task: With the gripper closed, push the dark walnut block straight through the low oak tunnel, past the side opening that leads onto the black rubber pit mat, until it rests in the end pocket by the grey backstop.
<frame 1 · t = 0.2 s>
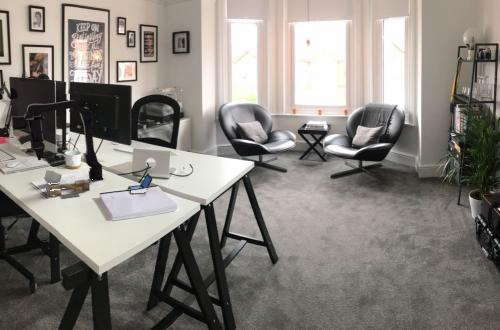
hand: (39, 158, 224), 14 cm above the table, tool pointing down, fingers open, 9 cm apart
handheld game console: (140, 190, 221), on the table
pit mat: (70, 195, 210), on the table
tunnel: (67, 191, 218), on the table
die: (53, 184, 231), on the table
walnut block: (82, 189, 221), on the table
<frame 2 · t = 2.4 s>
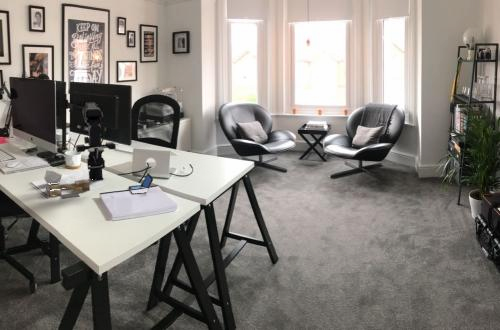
hand: (97, 163, 222), 13 cm above the table, tool pointing down, fingers closed
nothing on the table moved.
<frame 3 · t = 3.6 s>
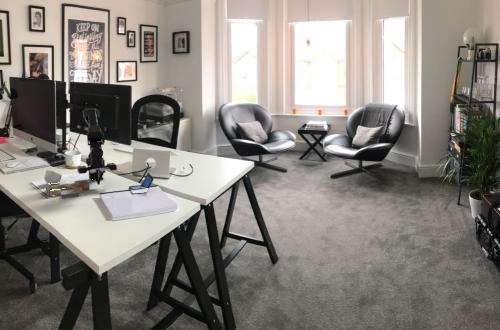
hand: (98, 184, 224), 2 cm above the table, tool pointing down, fingers closed
nothing on the table moved.
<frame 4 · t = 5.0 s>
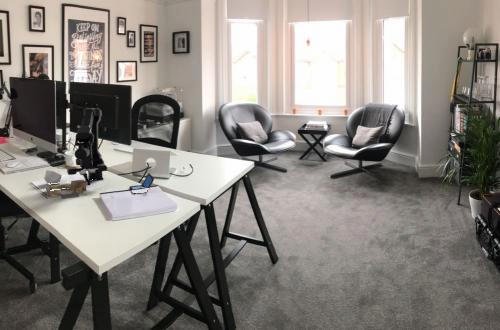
hand: (88, 185, 222), 2 cm above the table, tool pointing down, fingers closed
walnut block: (79, 190, 220), on the table, touching gripper
everything else where it was.
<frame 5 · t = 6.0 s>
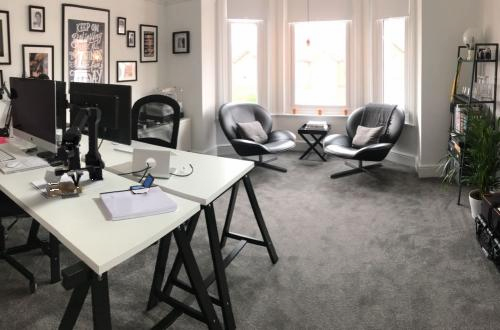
hand: (76, 186, 219), 2 cm above the table, tool pointing down, fingers closed
walnut block: (66, 191, 217), on the table, touching gripper
everything else where it was.
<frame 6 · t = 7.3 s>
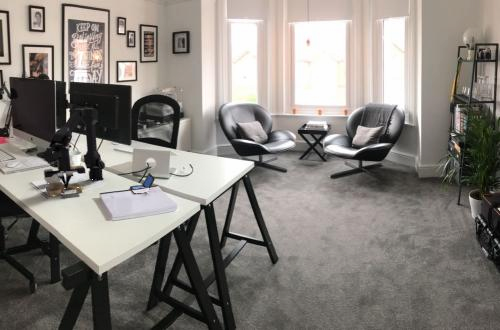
hand: (66, 188, 217), 2 cm above the table, tool pointing down, fingers closed
walnut block: (56, 192, 215), on the table, touching gripper, tunnel
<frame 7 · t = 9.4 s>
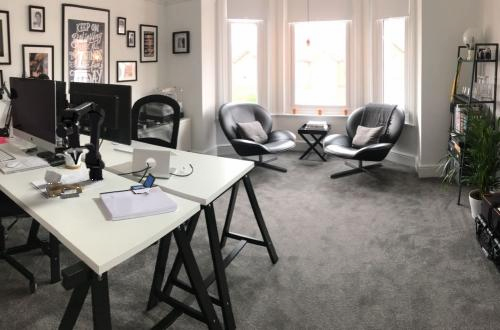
hand: (75, 164, 219), 13 cm above the table, tool pointing down, fingers closed
walnut block: (56, 193, 215), on the table
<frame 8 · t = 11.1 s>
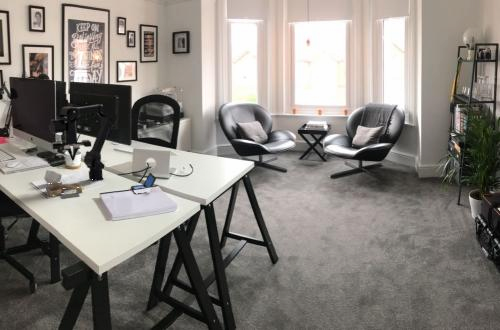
hand: (73, 160, 227), 13 cm above the table, tool pointing down, fingers closed
at the end: walnut block 0.4 cm from the target spot, on the table; walnut block touching table; walnut block tilted 0° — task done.
